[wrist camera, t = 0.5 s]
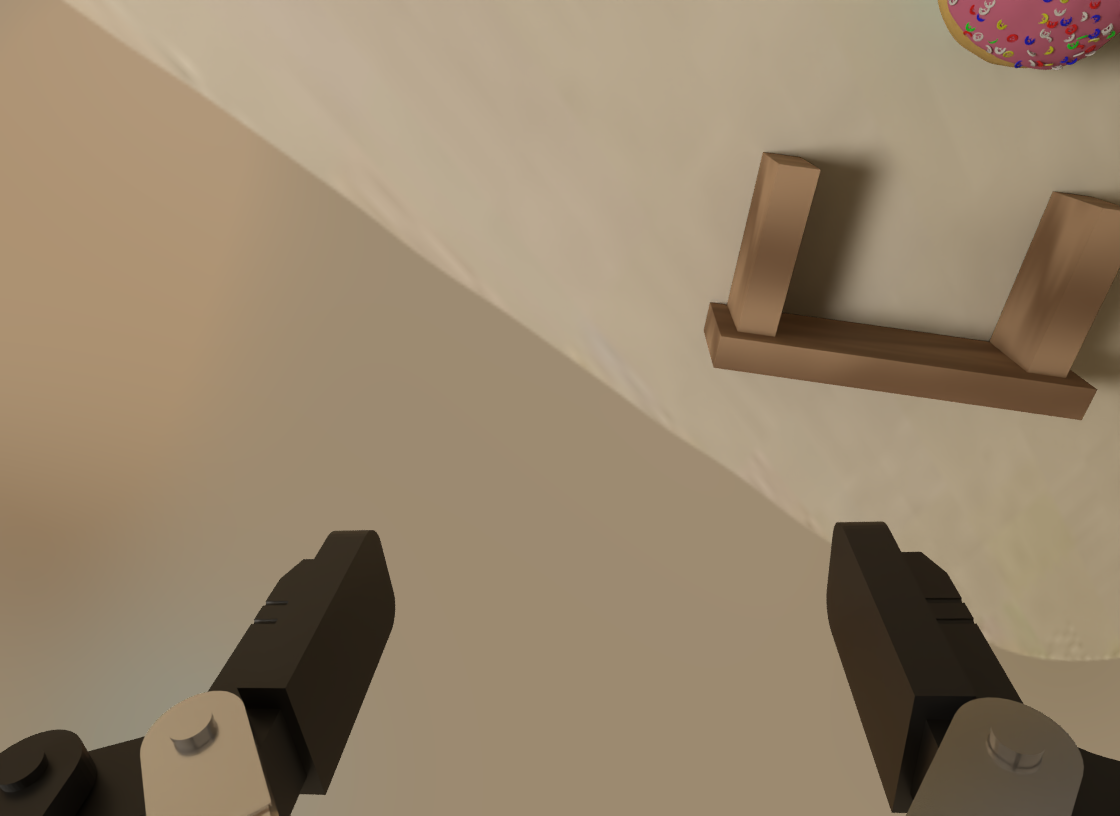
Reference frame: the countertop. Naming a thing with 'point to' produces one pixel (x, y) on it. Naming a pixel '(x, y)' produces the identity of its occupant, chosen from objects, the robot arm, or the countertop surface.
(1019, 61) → the cupcake
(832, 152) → the countertop surface
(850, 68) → the countertop surface
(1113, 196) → the countertop surface
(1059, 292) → the wooden u-shaped bracket
